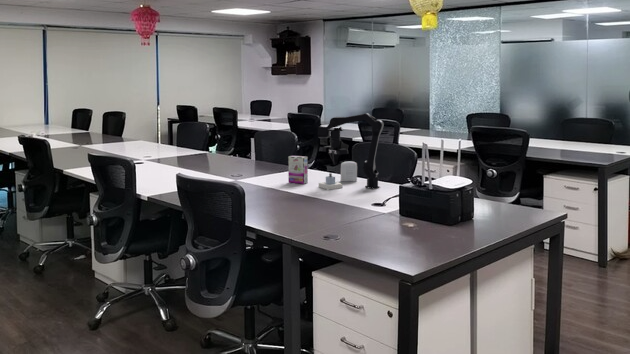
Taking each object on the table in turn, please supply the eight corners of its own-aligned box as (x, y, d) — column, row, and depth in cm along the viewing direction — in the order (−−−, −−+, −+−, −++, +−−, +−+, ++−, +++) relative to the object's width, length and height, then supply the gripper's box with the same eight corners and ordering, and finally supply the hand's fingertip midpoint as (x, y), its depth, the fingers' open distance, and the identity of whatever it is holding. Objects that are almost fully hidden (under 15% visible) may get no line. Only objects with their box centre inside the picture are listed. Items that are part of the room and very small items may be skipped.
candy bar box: (308, 183, 357) (308, 156, 354) (304, 184, 353) (304, 157, 350) (292, 181, 362) (292, 155, 359) (288, 182, 358) (287, 156, 355)
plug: (335, 187, 343) (335, 173, 342) (329, 187, 341) (329, 174, 340) (331, 186, 347) (331, 172, 345) (325, 186, 345) (325, 173, 343)
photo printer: (356, 180, 367) (356, 160, 365) (357, 181, 363) (357, 161, 361) (339, 180, 366) (340, 161, 363) (341, 181, 361) (341, 162, 359)
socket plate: (342, 187, 342) (342, 182, 342) (327, 189, 337) (328, 184, 337) (332, 185, 351) (332, 180, 350) (318, 186, 346) (318, 181, 345)
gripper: (355, 139, 342) (355, 165, 345) (337, 136, 358) (337, 161, 360) (340, 140, 336) (339, 167, 339) (322, 137, 352) (322, 163, 354)
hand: (335, 164), depth 348 cm, fingers closed
